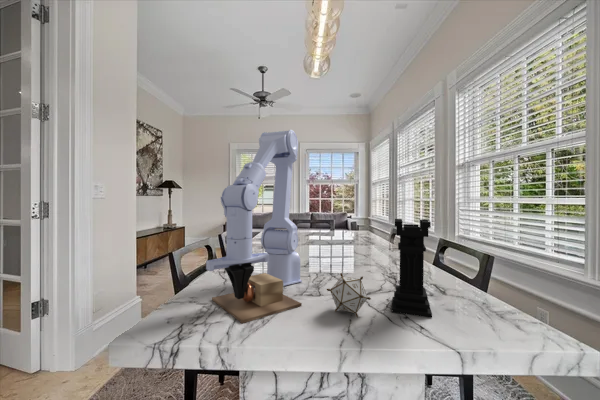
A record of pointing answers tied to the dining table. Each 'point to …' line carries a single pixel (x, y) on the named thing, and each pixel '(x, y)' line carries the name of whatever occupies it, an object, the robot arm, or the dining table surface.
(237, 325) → the dining table surface
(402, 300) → the chess piece
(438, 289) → the dining table surface
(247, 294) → the pin
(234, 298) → the block
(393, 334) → the dining table surface
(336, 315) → the dining table surface
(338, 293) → the game die
